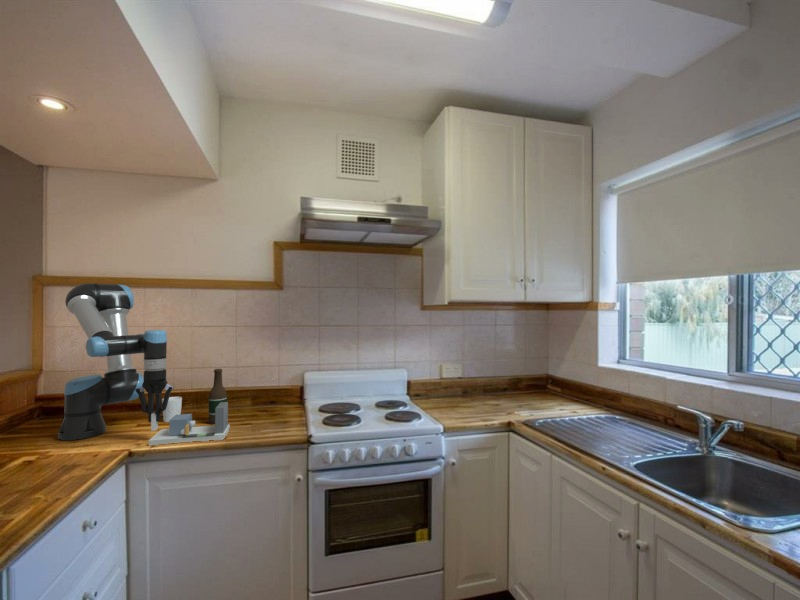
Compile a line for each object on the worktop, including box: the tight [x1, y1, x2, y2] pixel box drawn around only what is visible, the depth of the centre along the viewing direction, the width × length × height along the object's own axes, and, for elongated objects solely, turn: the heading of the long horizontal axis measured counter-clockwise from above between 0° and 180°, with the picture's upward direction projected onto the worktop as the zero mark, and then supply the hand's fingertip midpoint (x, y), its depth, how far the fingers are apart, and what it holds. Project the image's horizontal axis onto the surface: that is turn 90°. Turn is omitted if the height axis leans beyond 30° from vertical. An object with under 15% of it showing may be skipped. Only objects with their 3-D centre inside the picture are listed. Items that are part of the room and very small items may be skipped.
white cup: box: [161, 396, 183, 423], centre depth 177 cm, size 8×8×10 cm
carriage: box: [168, 413, 197, 436], centre depth 151 cm, size 8×11×6 cm
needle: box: [185, 424, 189, 435], centre depth 148 cm, size 1×2×4 cm, turn 15°
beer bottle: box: [208, 368, 228, 425], centre depth 174 cm, size 8×8×24 cm
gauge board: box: [148, 401, 231, 446], centre depth 154 cm, size 26×14×12 cm, turn 105°
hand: (154, 429), depth 150 cm, fingers closed
